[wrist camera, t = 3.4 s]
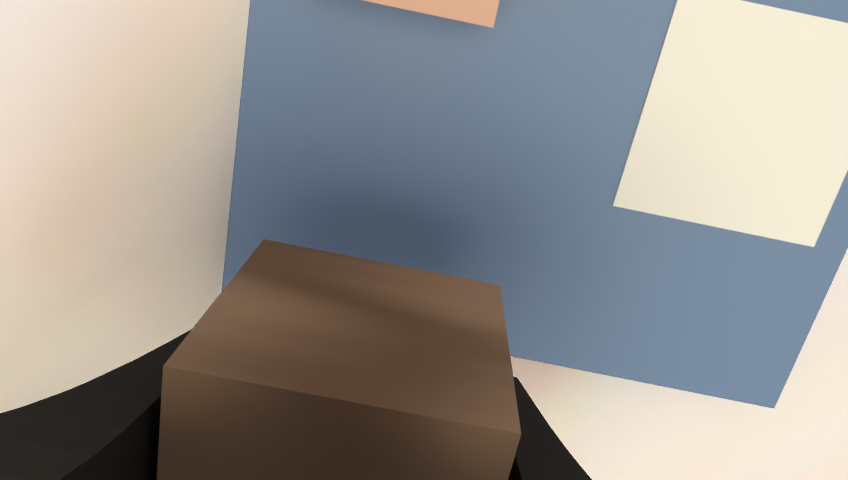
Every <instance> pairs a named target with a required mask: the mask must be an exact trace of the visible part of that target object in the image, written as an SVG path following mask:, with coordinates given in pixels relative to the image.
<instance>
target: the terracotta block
mask: <svg viewBox="0 0 848 480" xmlns="http://www.w3.org/2000/svg"><path fill="white" fill-rule="evenodd" d="M363 1H368V2H373V3H378V4H382V5H387V6H392V7H397V8H401V9H406V10H411V11H416V12H420V13H425V14H430V15H435V16H439V17H444V18H449V19H454V20H458V21H463V22H468V23H472V24H477V25H482V26H487V27H491V28H493V27H494V23H495V18H496V14H497V9H498V5H499V0H363Z"/></svg>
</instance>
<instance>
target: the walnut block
mask: <svg viewBox="0 0 848 480" xmlns="http://www.w3.org/2000/svg"><path fill="white" fill-rule="evenodd" d="M520 437H521V429H520V422H519V415H518V407H517V400H516V393H515V386H514V379H513V372H512V365H511V358H510V351H509V344H508V337H507V330H506V323H505V316H504V309H503V302H502V295H501V288H500V285H497V284H492V283H487V282H482V281H477V280H472V279H466V278H461V277H456V276H451V275H446V274H441V273H436V272H430V271H425V270H420V269H415V268H410V267H405V266H400V265H395V264H389V263H384V262H379V261H374V260H369V259H364V258H359V257H353V256H348V255H343V254H338V253H333V252H328V251H323V250H317V249H312V248H307V247H302V246H297V245H292V244H287V243H281V242H276V241H271V240H266V239H263V241H262V242H261V243H260V244H259V246H258V247H257V248H256V249H255V251H254V252H253V253H252V254H251V256H250V257H249V258H248V259H247V261H246V262H245V263H244V264H243V266H242V267H241V268H240V270H239V271H238V272H237V273H236V275H235V276H234V277H233V278H232V280H231V281H230V282H229V283H228V285H227V286H226V287H225V288H224V290H223V291H222V292H221V294H220V295H219V296H218V297H217V299H216V300H215V301H214V302H213V304H212V305H211V306H210V307H209V309H208V310H207V311H206V312H205V314H204V315H203V316H202V317H201V319H200V320H199V321H198V323H197V324H196V325H195V326H194V328H193V329H192V330H191V331H190V333H189V334H188V335H187V336H186V338H185V339H184V340H183V341H182V343H181V344H180V345H179V346H178V348H177V349H176V350H175V352H174V353H173V354H172V355H171V357H170V358H169V359H168V360H167V362H166V363H165V364H164V365H163V376H162V393H161V411H160V428H159V445H158V463H157V480H508V478H509V474H510V471H511V468H512V464H513V461H514V457H515V454H516V450H517V447H518V444H519V440H520Z"/></svg>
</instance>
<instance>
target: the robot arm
mask: <svg viewBox="0 0 848 480" xmlns="http://www.w3.org/2000/svg"><path fill="white" fill-rule="evenodd" d="M191 330H192V329H191ZM191 330H190V331H191ZM190 331H188V332H186V333H184V334H182V335H181V336H179V337H177V338H175V339H173V340H171V341H170V342H168V343H166V344H164V345H162V346H160V347H158V348H156V349H155V350H153V351H151V352H149V353H147V354H145V355H143V356H141V357H139V358H138V359H136V360H134V361H132V362H129V363H127V364H125V365H123V366H121V367H119V368H117V369H114V370H112V371H110V372H108V373H106V374H104V375H102V376H99V377H97V378H95V379H93V380H91V381H89V382H87V383H84V384H82V385H80V386H77V387H75V388H72V389H70V390H67V391H65V392H62V393H60V394H57V395H54V396H51V397H49V398H46V399H43V400H40V401H38V402H35V403H32V404H29V405H26V406H23V407H20V408H17V409H14V410H11V411H7V412H4V413H0V480H157V463H158V445H159V428H160V411H161V393H162V376H163V365H164V364H165V363H166V362H167V360H168V359H169V358H170V357H171V355H172V354H173V353H174V352H175V350H176V349H177V348H178V346H179V345H180V344H181V343H182V341H183V340H184V339H185V338H186V336H187V335H188V334H189V333H190ZM513 379H514V386H515V393H516V400H517V407H518V415H519V422H520V429H521V437H520V440H519V444H518V447H517V450H516V454H515V457H514V461H513V464H512V468H511V471H510V474H509V478H508V480H592V479H591V478H590V477H589V476H588V475H587V473H586V472H585V471H584V470H583V469H582V467H581V466H580V465H579V464H578V463H577V461H576V460H575V459H574V458H573V456H572V455H571V454H570V453H569V451H568V450H567V449H566V448H565V446H564V445H563V444H562V442H561V441H560V440H559V438H558V437H557V435H556V434H555V433H554V431H553V430H552V429H551V427H550V426H549V424H548V423H547V421H546V420H545V419H544V417H543V416H542V414H541V413H540V411H539V410H538V408H537V407H536V405H535V404H534V402H533V401H532V399H531V398H530V396H529V395H528V393H527V392H526V390H525V389H524V387H523V386H522V384H521V383H520V381H519V380H518V378H516V377H513Z"/></svg>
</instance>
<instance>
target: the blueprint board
mask: <svg viewBox="0 0 848 480" xmlns="http://www.w3.org/2000/svg"><path fill="white" fill-rule="evenodd" d="M263 239H266V240H271V241H276V242H281V243H287V244H292V245H297V246H302V247H307V248H312V249H317V250H323V251H328V252H333V253H338V254H343V255H348V256H353V257H359V258H364V259H369V260H374V261H379V262H384V263H389V264H395V265H400V266H405V267H410V268H415V269H420V270H425V271H430V272H436V273H441V274H446V275H451V276H456V277H461V278H466V279H472V280H477V281H482V282H487V283H492V284H497V285H500V288H501V295H502V302H503V309H504V316H505V323H506V330H507V337H508V344H509V351H510V356H513V357H518V358H523V359H529V360H534V361H539V362H544V363H549V364H554V365H559V366H564V367H569V368H574V369H579V370H584V371H589V372H594V373H599V374H604V375H609V376H614V377H619V378H624V379H629V380H634V381H639V382H644V383H649V384H654V385H659V386H664V387H669V388H674V389H679V390H684V391H689V392H694V393H699V394H704V395H709V396H714V397H719V398H724V399H729V400H734V401H739V402H744V403H749V404H754V405H759V406H764V407H769V408H774V407H775V405H776V403H777V401H778V399H779V396H780V394H781V392H782V390H783V388H784V386H785V383H786V381H787V379H788V377H789V375H790V372H791V370H792V368H793V366H794V364H795V362H796V359H797V357H798V355H799V353H800V351H801V348H802V346H803V344H804V342H805V340H806V337H807V335H808V333H809V331H810V329H811V327H812V324H813V322H814V320H815V318H816V316H817V313H818V311H819V309H820V307H821V305H822V303H823V300H824V298H825V296H826V294H827V292H828V289H829V287H830V285H831V283H832V281H833V279H834V276H835V274H836V272H837V270H838V268H839V265H840V263H841V261H842V259H843V257H844V255H845V252H846V250H847V248H848V0H499V5H498V9H497V14H496V18H495V23H494V27H493V28H491V27H487V26H482V25H477V24H472V23H468V22H463V21H458V20H454V19H449V18H444V17H439V16H435V15H430V14H425V13H420V12H416V11H411V10H406V9H401V8H397V7H392V6H387V5H382V4H378V3H373V2H368V1H363V0H250V8H249V18H248V28H247V39H246V49H245V59H244V69H243V80H242V90H241V100H240V110H239V120H238V131H237V141H236V151H235V161H234V172H233V182H232V192H231V202H230V212H229V223H228V233H227V243H226V253H225V264H224V274H223V284H222V291H223V290H224V288H225V287H226V286H227V285H228V283H229V282H230V281H231V280H232V278H233V277H234V276H235V275H236V273H237V272H238V271H239V270H240V268H241V267H242V266H243V264H244V263H245V262H246V261H247V259H248V258H249V257H250V256H251V254H252V253H253V252H254V251H255V249H256V248H257V247H258V246H259V244H260V243H261V242H262V241H263Z"/></svg>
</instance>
